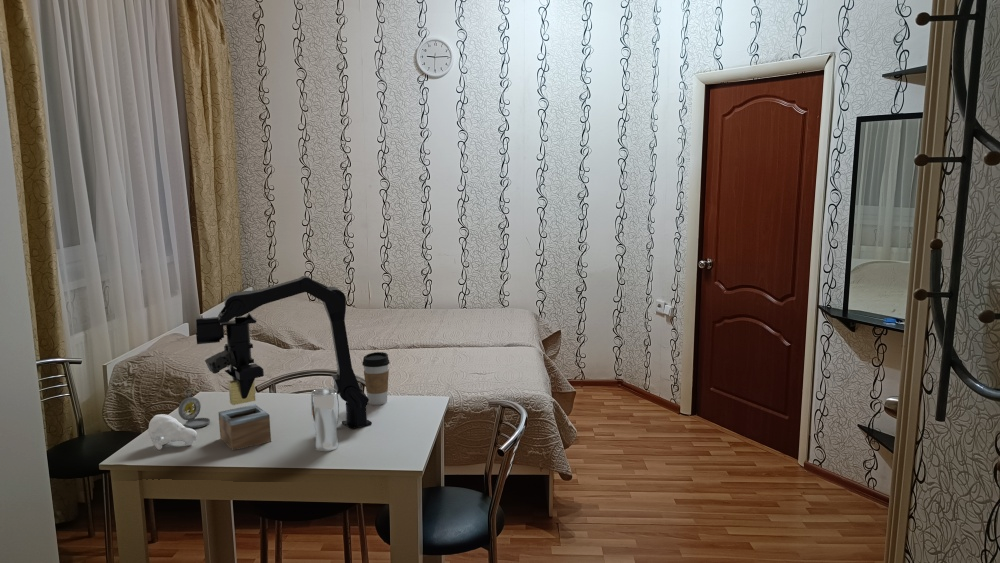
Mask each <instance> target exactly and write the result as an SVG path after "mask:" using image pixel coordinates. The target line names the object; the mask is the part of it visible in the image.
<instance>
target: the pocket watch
mask: <svg viewBox="0 0 1000 563" xmlns="http://www.w3.org/2000/svg"><path fill="white" fill-rule="evenodd" d="M186 391H187V393H186ZM189 391H190V392H189ZM192 393H193V390H192V389H191V388H187V389H186V390H184V391H183V394H184V395H186V396H187V397H186V398H184V399H183V400H181V402H180V404H179V406H178V411H177V412H178V415H179V417H180V418H181V419H182V420H184V421H185V422H184V424H185V425H184V426H185V427H186V428H190V429H193V428H195V429H197V428H202V427H205V426H207V425H209V424H210V423H211V419H210V418H208V417H197V416H199V414H200V412H201V406H202V405H201V402H200V400H199V399H198V398H196V397H195V396H191V395H192ZM188 413H189V414H188Z"/></svg>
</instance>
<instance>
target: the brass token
mask: <svg viewBox="0 0 1000 563" xmlns="http://www.w3.org/2000/svg"><path fill="white" fill-rule="evenodd" d="M255 386H256V385H255V381H254V382H253V384H252V386H251V389H250V391H249V394H248V396H247V398H246V399H242V396H241V392H240V388H239V384H238V381H237V380H233V379H232V380H229V381H228V391H229V403H230V404H231V405H232V406H236V405H240V404H246V403H249V402H250V403H251V402H256V400H257V399H256V389H255Z"/></svg>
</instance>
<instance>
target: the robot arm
mask: <svg viewBox="0 0 1000 563" xmlns="http://www.w3.org/2000/svg"><path fill="white" fill-rule="evenodd" d="M303 293H306V294H308V295H311V296H312V297H314V298H316V299H317V300H320V301H322V302H321V303H322V304H323V306H324V309H325V312H326V315H327V317H328V320H329V324H330V330H331V336H332V343H333V348H334V349H333V350H334V354H335V361H336V368H337V370H336V373H335V374H332V375H331V377H332V379H333V389H336V390H337V395H338V396H340V398H341V400H342V401H344V402H345V413H346V415H345V417H346V419H344V420H342V421H341V424H343V425H344V426H346V427H348V428H349V429H350V430H351V429H352V430H353V429H356V428H361V427H364V426H369V425H372V424H373V421H371V420H369V419H368V414H367V407H368V405H369V403H368V401H369V399H368V397H367V394H366V393H365V391H363V390H362V389H361V387H360V384H359V382H358V379H357V377H356V374H355V372H354V369H353V366H352V360H351V354H350V347H349V340H348V335H347V329H346V328H347V327H346V321H345V320H346V313H347V312H346V310H347V298H346V295H345V293H344V292H343V291H341V289H339V288H338V287H336V286H327V285H325V284H323V283H320V282H319V281H316V280H314V279H312V278H311V277H310V276H308V275H303V276H300V277H298V278H295V279H292V280H287V281H285V282H282V283H278V284H275V285H272V286H268V287H264V288H261V289H257V290H242V291H234V292H231V293H229V294H227V296H225V299H224V307H223V308H222V309H221V311H220V312H219V313H218V315H217V316H213V317H196V319H195V323H196V325H195V326H196V327H195V328H196V329H195V336H196V345H205V344H216V343H220V342H221V341H222V340H223V339H224V338H225V332H224V326H225V329H226V342H227V343H225V344H224V346H223V347H224V348H223V349H224V350H222V351H220V352H217V353H216V354H213V355H211V356H210V357H208V358H206V359H205V360H204V362H205V364H206V367H207V368H208V371H209V372H210V373H212V374H218V373H219V372H220V371H222V370H224V369H225V368H227V369H225V370H224V372H225V373H226V374H228V375H229V376H230V377H231V378H232V381H233V380H237V381H238V384H239V388H240V392H241V396H242V399H246V398H247V396H248V394H249V391H250V389H251V386H252V384H253V382H254V383H255V380H256V378H261V377H264V373H265V372H264V368H263V367H262V366H261V365H258V364H257V363H255V359H254V358H252V349H253V348H254V344H253V343H251V333H250V324H256V323H257V320H256V318H255V317H254V316H252V315H251V312H254V310H256V309H258V308H259V307H262V306H263V305H267V304H269V303H273V302H277V301H279V300H282V299H287V298H290V297H293V296H296V295H300V294H303ZM233 319H234V320H233Z"/></svg>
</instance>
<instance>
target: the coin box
mask: <svg viewBox="0 0 1000 563" xmlns="http://www.w3.org/2000/svg"><path fill="white" fill-rule="evenodd" d="M217 414H218V422H219V423H218V424H219V436H220V437H219V438H220V440H221V441H222V442H223V443H225V445H227V446H228V445H229V446H228V448H230V447H231V448H232V449H233V450H232V449H231V448H230V449H231V450H232V451H236V450H235V449H237V450H240V449H239V448H241V449H244V448H243V447H245V448H248V446H250V447H254V446H257V444H258V445H262V444H265V443H269V442H272V436H271V434H272V432H271V421H270V414H269V412H267V411H265V410H264V409H263V408H261V407H260V406H258V405H257V404H251V405H245V406H242V407H236V408H235V407H234V408H232V409H231V408H230V409H226V410H222V411H218V413H217ZM253 445H254V446H253Z"/></svg>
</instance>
